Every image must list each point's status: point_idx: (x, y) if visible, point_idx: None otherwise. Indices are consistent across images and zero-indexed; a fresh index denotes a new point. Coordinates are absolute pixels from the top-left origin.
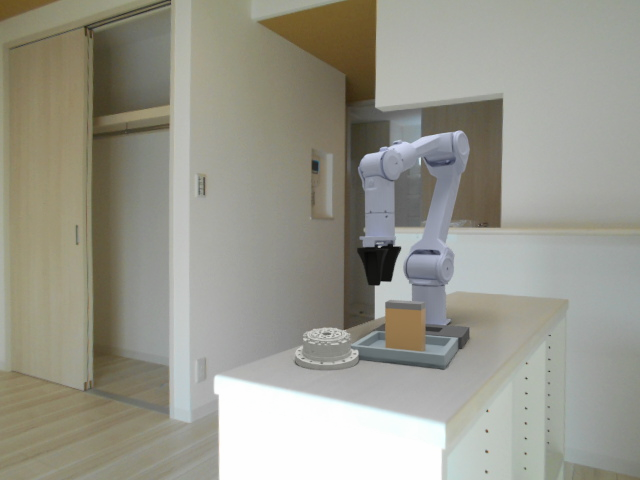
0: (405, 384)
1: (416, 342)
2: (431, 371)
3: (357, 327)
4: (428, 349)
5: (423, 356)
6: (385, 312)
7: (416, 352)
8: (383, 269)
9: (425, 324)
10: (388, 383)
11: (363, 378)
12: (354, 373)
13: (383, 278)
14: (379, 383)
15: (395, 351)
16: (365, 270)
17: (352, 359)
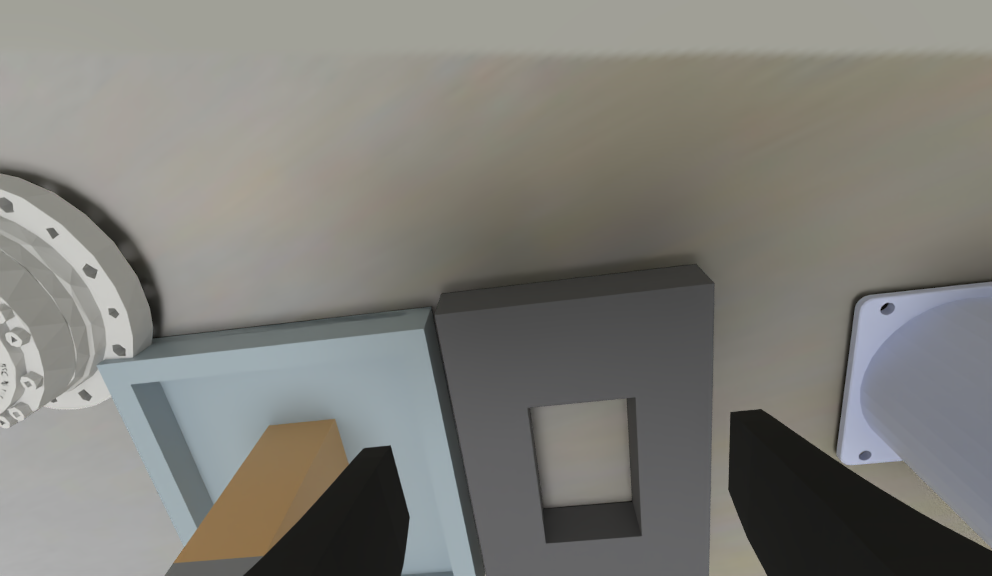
0: (56, 555)
1: None
2: None
3: (716, 58)
4: None
5: None
6: (188, 544)
7: None
8: (796, 529)
9: (691, 460)
10: (28, 524)
11: (4, 464)
12: (16, 427)
13: (743, 455)
14: (8, 509)
15: (169, 511)
16: (278, 545)
17: (45, 406)
